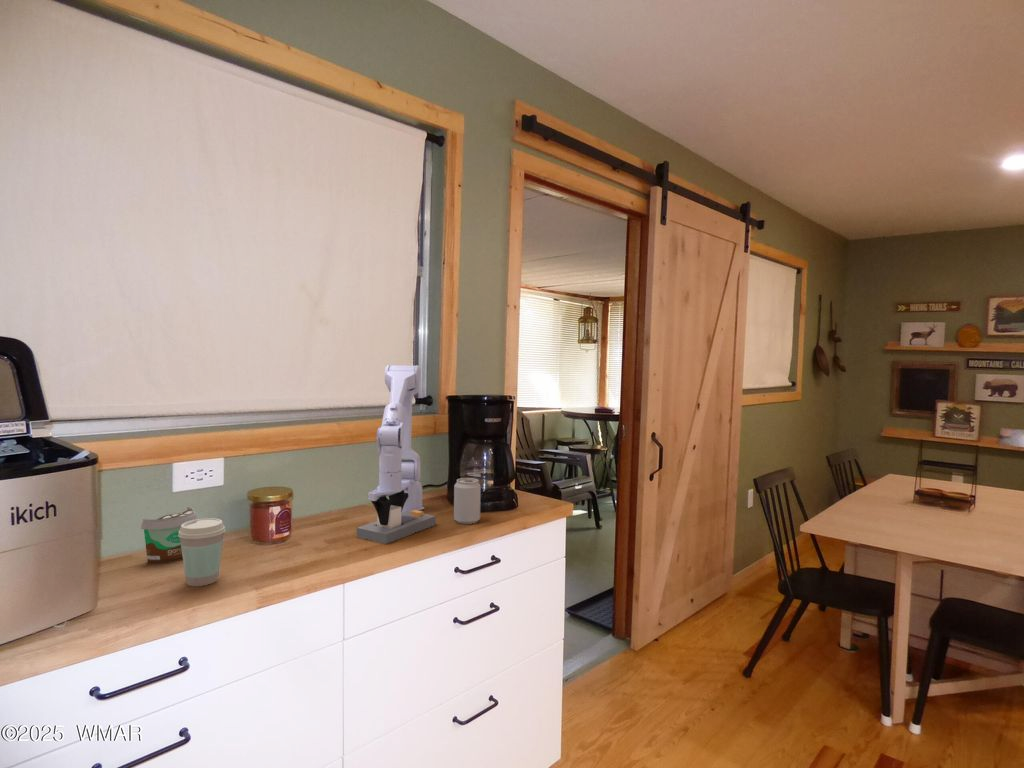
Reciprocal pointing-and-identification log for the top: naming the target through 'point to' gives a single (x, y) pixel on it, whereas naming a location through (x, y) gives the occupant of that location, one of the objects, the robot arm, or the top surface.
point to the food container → (165, 536)
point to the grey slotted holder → (409, 525)
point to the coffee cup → (201, 550)
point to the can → (467, 500)
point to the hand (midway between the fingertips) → (390, 522)
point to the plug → (392, 518)
